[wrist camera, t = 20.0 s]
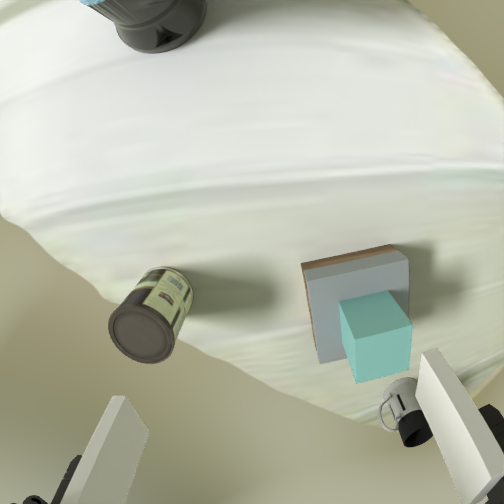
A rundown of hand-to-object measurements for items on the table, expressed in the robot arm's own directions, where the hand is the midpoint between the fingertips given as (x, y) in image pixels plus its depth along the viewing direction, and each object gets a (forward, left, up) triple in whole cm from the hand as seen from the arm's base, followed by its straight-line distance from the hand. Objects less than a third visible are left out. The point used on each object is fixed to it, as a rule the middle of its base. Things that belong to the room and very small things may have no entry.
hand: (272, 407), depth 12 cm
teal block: (+7, +20, -31) cm, 38 cm away
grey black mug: (+24, +44, -39) cm, 63 cm away
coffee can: (+21, -10, -39) cm, 45 cm away
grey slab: (+7, +20, -35) cm, 41 cm away
